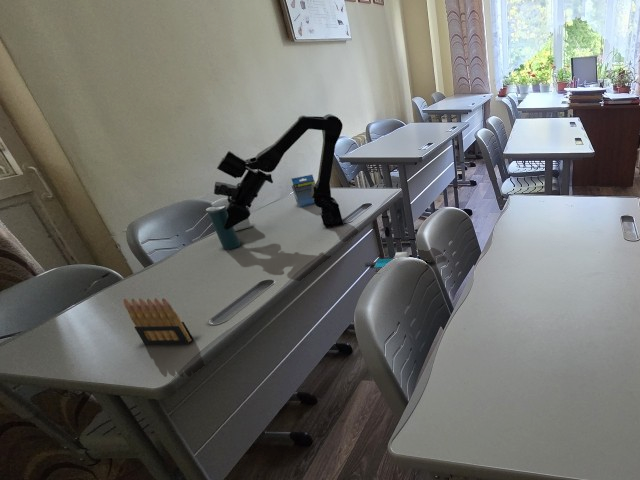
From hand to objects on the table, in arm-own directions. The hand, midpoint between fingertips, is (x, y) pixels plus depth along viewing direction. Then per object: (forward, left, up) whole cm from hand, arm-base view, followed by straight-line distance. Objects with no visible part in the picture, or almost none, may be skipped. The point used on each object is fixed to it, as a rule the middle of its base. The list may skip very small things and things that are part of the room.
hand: (225, 224), depth 134 cm
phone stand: (-48, +42, -8) cm, 64 cm away
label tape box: (-25, -35, -8) cm, 44 cm away
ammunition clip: (+8, +55, -8) cm, 56 cm away
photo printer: (+1, -17, -8) cm, 19 cm away
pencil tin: (+1, 0, -8) cm, 8 cm away
